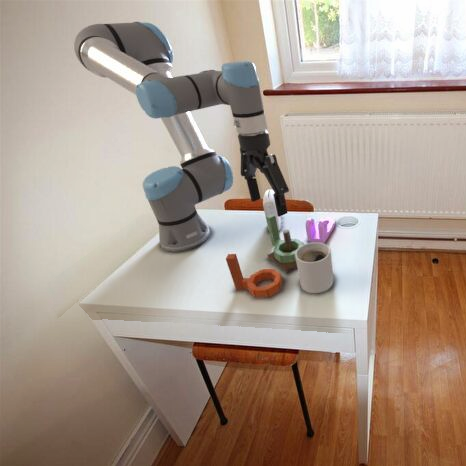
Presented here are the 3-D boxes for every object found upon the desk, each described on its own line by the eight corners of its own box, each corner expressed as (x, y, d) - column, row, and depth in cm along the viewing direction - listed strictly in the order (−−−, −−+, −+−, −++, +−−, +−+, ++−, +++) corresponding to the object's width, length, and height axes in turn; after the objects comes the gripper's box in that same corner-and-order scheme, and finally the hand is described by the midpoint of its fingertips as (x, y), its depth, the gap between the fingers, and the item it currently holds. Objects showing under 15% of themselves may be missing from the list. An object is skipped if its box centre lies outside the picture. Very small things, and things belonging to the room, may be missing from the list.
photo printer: (281, 232, 109) (274, 199, 102) (268, 233, 109) (260, 200, 102) (282, 217, 118) (276, 185, 111) (270, 218, 117) (263, 187, 110)
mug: (320, 298, 82) (315, 267, 76) (291, 285, 86) (285, 255, 81) (344, 273, 89) (341, 243, 84) (316, 263, 94) (312, 234, 88)
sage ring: (310, 253, 95) (305, 222, 90) (286, 266, 91) (280, 235, 85) (286, 238, 103) (280, 209, 97) (263, 250, 98) (256, 220, 92)
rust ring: (284, 275, 90) (277, 244, 84) (278, 297, 83) (271, 264, 77) (241, 277, 90) (232, 246, 85) (232, 299, 83) (221, 267, 77)
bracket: (324, 243, 102) (321, 224, 98) (307, 241, 104) (304, 222, 100) (337, 222, 112) (335, 204, 109) (322, 220, 114) (320, 202, 110)
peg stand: (267, 259, 97) (261, 232, 91) (294, 244, 102) (290, 218, 97) (287, 273, 90) (281, 245, 85) (315, 257, 96) (311, 230, 91)
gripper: (215, 127, 86) (235, 198, 98) (267, 145, 71) (283, 227, 83) (241, 121, 91) (257, 190, 102) (294, 136, 75) (306, 215, 87)
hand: (268, 207), depth 92 cm, fingers open, 13 cm apart
